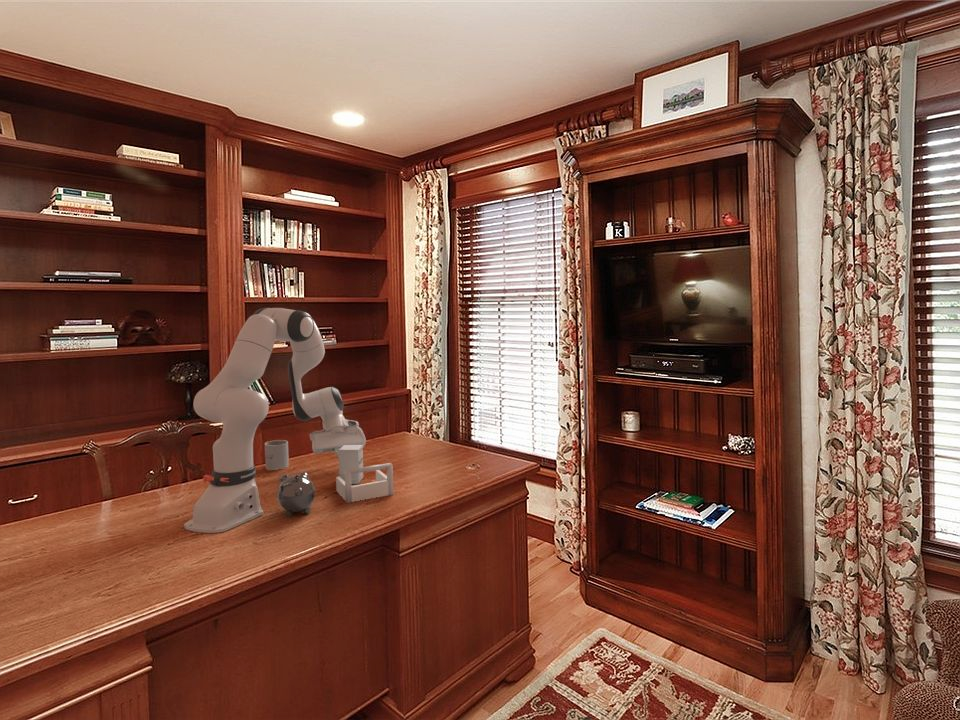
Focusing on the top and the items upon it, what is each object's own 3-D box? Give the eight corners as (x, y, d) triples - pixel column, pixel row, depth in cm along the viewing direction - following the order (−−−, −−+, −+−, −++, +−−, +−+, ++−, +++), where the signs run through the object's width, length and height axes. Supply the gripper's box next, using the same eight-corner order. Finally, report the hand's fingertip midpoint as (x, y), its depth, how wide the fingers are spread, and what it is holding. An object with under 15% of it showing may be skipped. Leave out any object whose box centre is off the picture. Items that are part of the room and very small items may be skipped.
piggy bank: (311, 501, 174) (310, 466, 172) (319, 517, 160) (318, 480, 159) (275, 506, 169) (273, 471, 168) (280, 523, 155) (278, 485, 154)
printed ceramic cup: (291, 468, 209) (290, 443, 208) (268, 472, 205) (267, 446, 204) (283, 460, 219) (282, 437, 218) (261, 464, 215) (260, 440, 214)
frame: (394, 494, 179) (393, 463, 178) (346, 503, 171) (345, 471, 170) (380, 483, 191) (379, 453, 190) (335, 491, 183) (334, 460, 182)
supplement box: (359, 484, 190) (358, 449, 189) (338, 484, 190) (337, 449, 189) (364, 477, 197) (363, 444, 196) (344, 477, 197) (343, 444, 196)
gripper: (309, 427, 201) (316, 458, 194) (362, 421, 212) (370, 450, 204) (307, 436, 206) (314, 467, 198) (358, 430, 216) (367, 459, 209)
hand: (343, 458), depth 201 cm, fingers closed
